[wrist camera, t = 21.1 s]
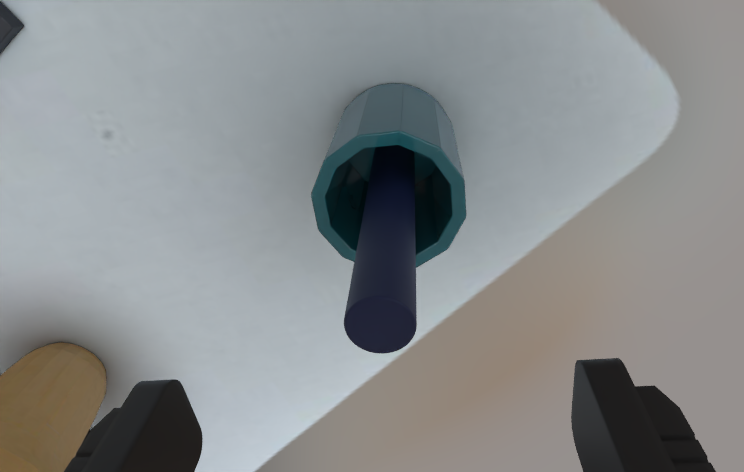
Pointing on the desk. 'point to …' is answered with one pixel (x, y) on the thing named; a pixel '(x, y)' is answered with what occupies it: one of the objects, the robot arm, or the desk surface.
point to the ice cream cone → (48, 407)
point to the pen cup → (354, 162)
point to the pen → (385, 257)
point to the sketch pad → (7, 26)
